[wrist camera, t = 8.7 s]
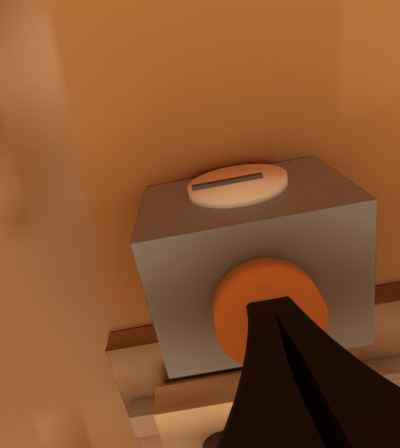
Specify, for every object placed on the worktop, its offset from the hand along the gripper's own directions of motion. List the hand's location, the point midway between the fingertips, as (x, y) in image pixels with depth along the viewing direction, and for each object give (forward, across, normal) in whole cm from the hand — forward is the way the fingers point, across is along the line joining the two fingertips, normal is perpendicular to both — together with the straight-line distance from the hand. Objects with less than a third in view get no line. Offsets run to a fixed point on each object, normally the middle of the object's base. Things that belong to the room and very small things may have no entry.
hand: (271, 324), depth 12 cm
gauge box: (+7, 0, 0) cm, 7 cm away
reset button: (+2, 0, 0) cm, 2 cm away
